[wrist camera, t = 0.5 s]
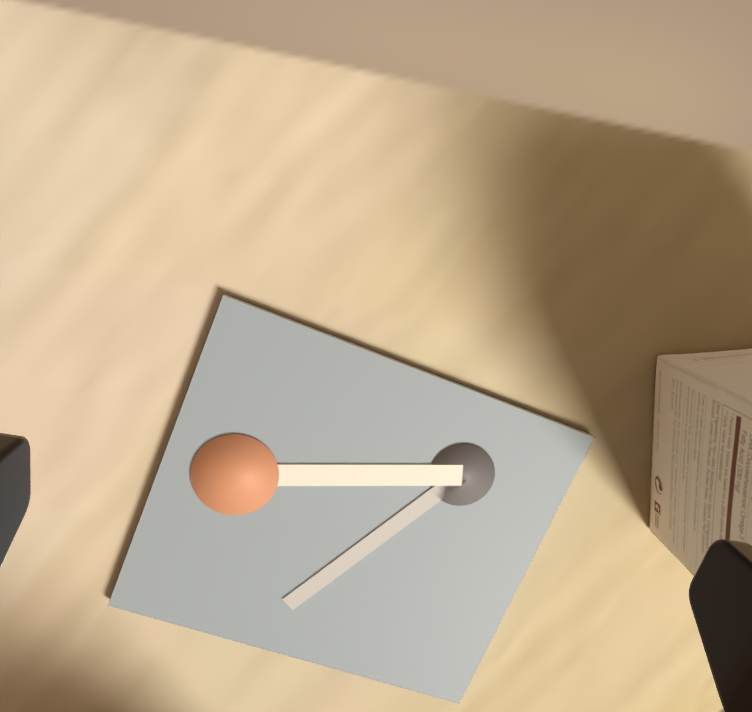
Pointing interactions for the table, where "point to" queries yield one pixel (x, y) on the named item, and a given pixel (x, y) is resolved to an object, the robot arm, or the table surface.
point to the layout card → (344, 506)
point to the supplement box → (702, 452)
